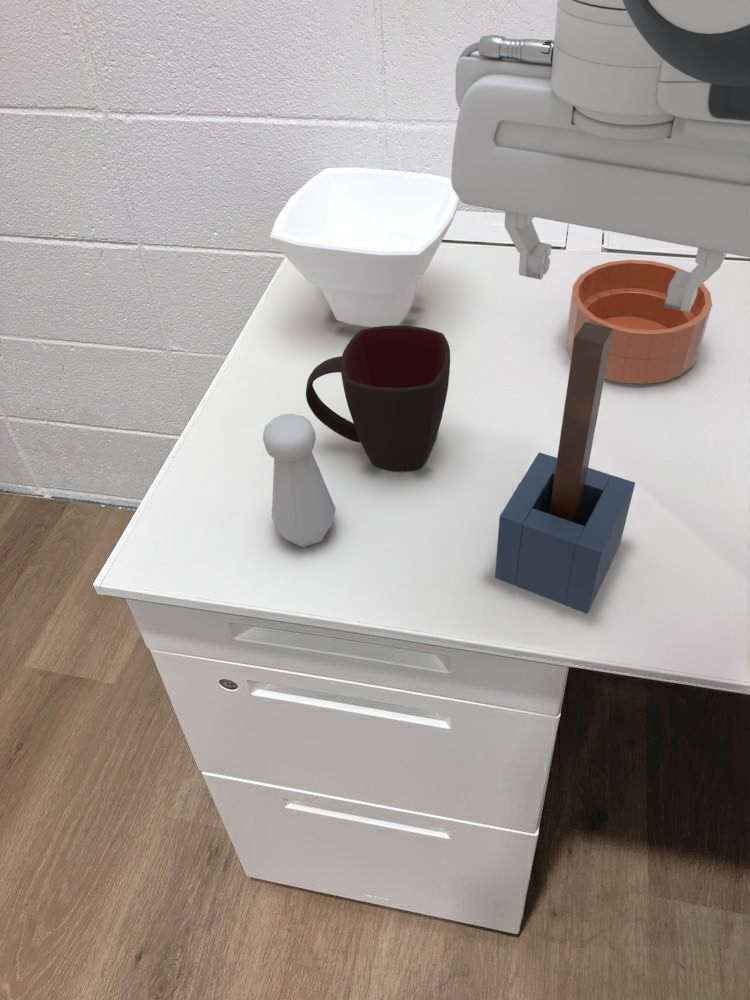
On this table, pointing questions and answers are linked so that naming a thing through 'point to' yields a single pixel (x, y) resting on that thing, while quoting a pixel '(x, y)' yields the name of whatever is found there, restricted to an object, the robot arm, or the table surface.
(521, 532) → the box
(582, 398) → the stirring stick
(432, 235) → the bowl
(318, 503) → the salt shaker
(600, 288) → the terracotta round dish
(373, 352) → the mug
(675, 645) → the table surface
